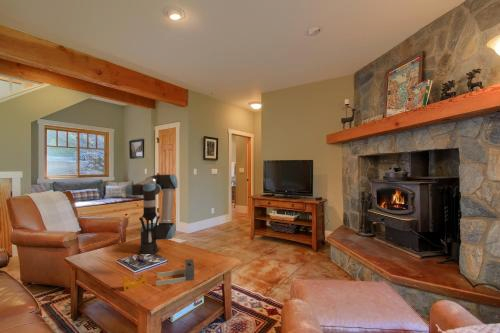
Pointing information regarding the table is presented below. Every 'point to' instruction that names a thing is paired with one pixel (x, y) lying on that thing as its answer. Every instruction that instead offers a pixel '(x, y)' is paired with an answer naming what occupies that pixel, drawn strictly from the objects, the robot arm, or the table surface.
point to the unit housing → (189, 269)
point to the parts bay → (170, 281)
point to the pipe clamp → (132, 285)
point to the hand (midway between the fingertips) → (150, 241)
